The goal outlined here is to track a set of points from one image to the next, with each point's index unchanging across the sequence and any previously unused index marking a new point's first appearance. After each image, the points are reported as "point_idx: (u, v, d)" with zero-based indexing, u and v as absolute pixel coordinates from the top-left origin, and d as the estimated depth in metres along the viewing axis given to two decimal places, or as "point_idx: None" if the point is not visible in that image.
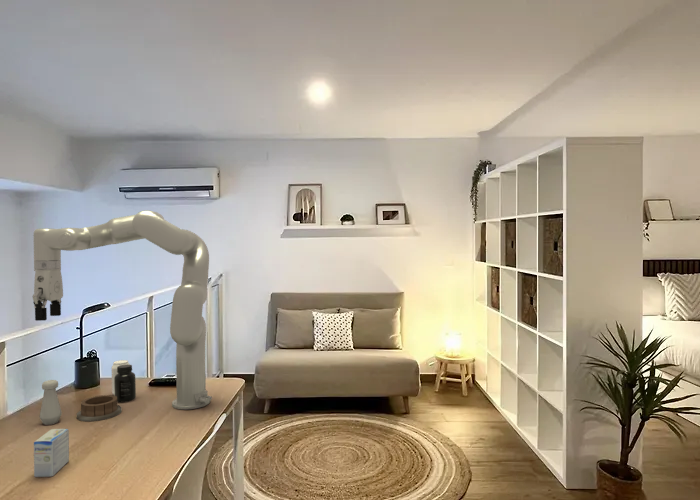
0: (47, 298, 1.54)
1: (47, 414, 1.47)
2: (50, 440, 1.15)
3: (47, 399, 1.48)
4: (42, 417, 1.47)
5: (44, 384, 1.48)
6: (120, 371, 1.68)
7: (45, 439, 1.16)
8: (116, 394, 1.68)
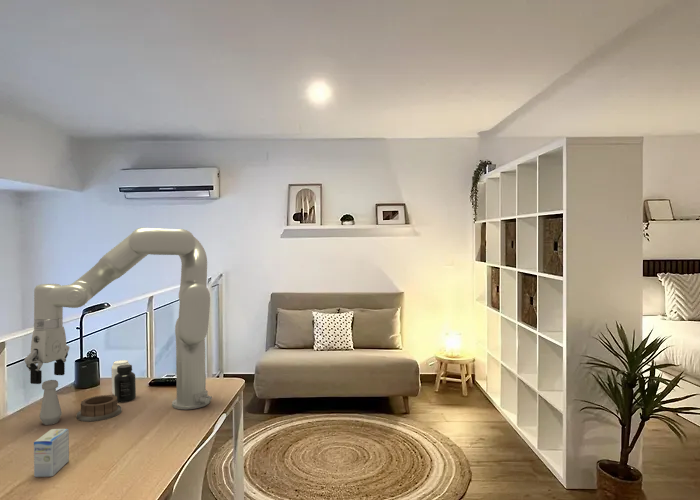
0: (42, 360, 1.44)
1: (47, 414, 1.47)
2: (50, 440, 1.15)
3: (47, 399, 1.48)
4: (42, 417, 1.47)
5: (44, 384, 1.48)
6: (120, 371, 1.68)
7: (45, 439, 1.16)
8: (116, 394, 1.68)
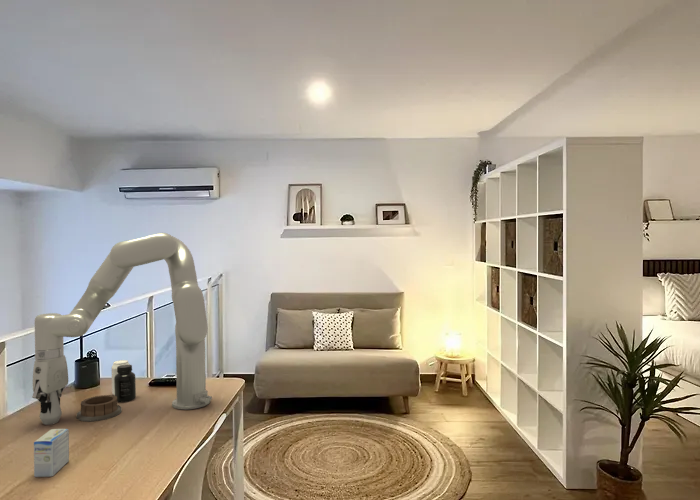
0: (44, 391, 1.44)
1: (47, 414, 1.47)
2: (50, 440, 1.15)
3: None
4: (42, 417, 1.47)
5: None
6: (120, 371, 1.68)
7: (45, 439, 1.16)
8: (116, 394, 1.68)
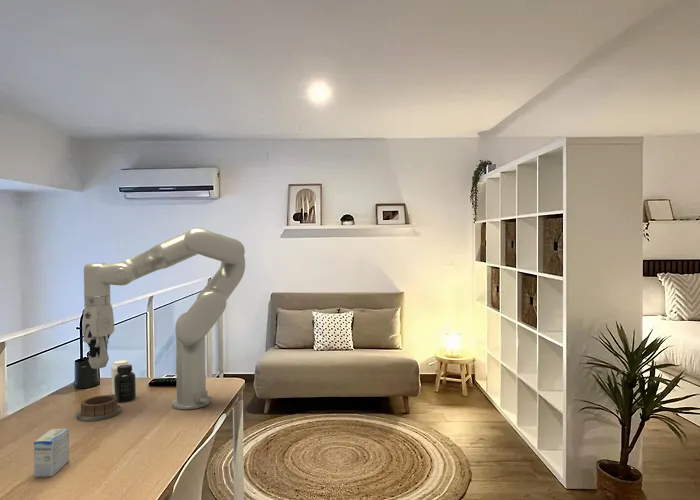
0: (94, 335, 1.51)
1: (96, 358, 1.54)
2: (50, 440, 1.15)
3: None
4: (91, 361, 1.54)
5: None
6: (120, 371, 1.68)
7: (45, 439, 1.16)
8: (116, 394, 1.68)
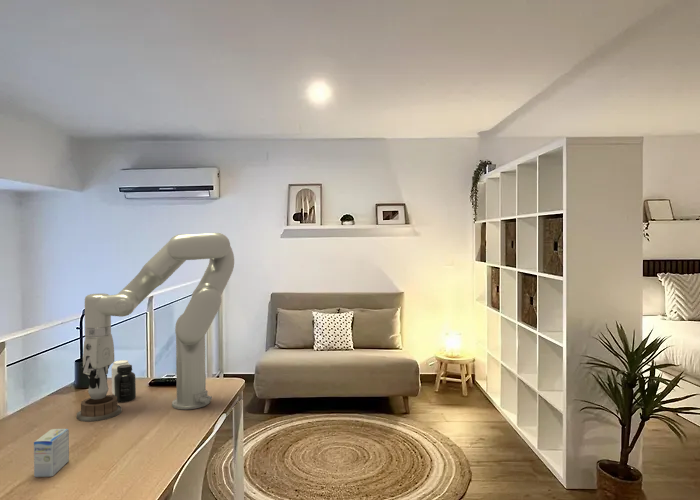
0: (94, 367, 1.51)
1: (96, 389, 1.54)
2: (50, 440, 1.15)
3: None
4: (91, 392, 1.54)
5: None
6: (120, 371, 1.68)
7: (45, 439, 1.16)
8: (116, 394, 1.68)
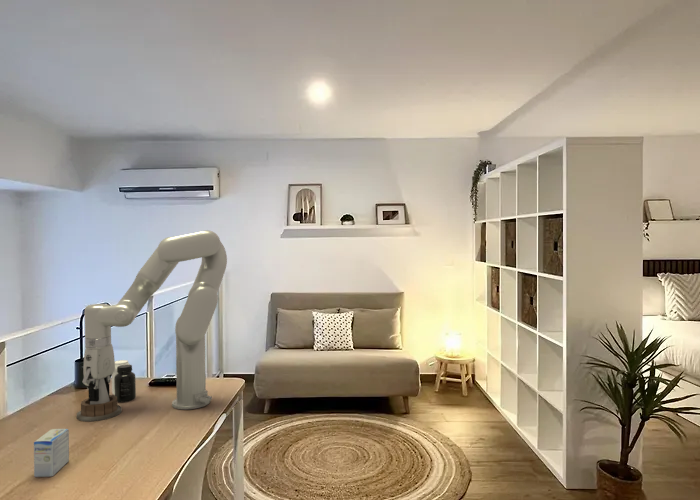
0: (94, 377, 1.51)
1: (97, 403, 1.54)
2: (50, 440, 1.15)
3: None
4: None
5: None
6: (120, 371, 1.68)
7: (45, 439, 1.16)
8: (116, 394, 1.68)
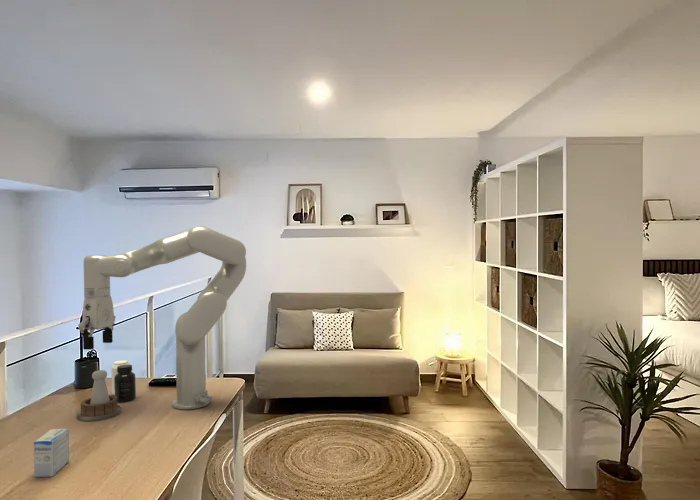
0: (94, 327, 1.51)
1: (97, 403, 1.54)
2: (50, 440, 1.15)
3: (97, 389, 1.55)
4: None
5: (94, 374, 1.55)
6: (120, 371, 1.68)
7: (45, 439, 1.16)
8: (116, 394, 1.68)
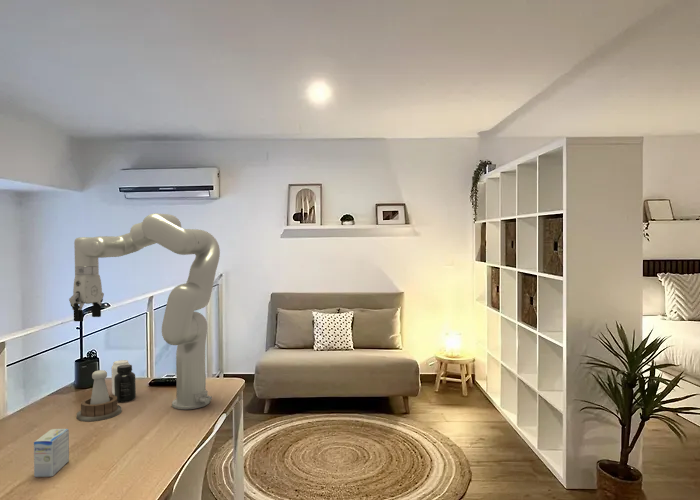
0: (83, 301, 1.68)
1: (97, 403, 1.54)
2: (50, 440, 1.15)
3: (97, 389, 1.55)
4: None
5: (94, 374, 1.55)
6: (120, 371, 1.68)
7: (45, 439, 1.16)
8: (116, 394, 1.68)
